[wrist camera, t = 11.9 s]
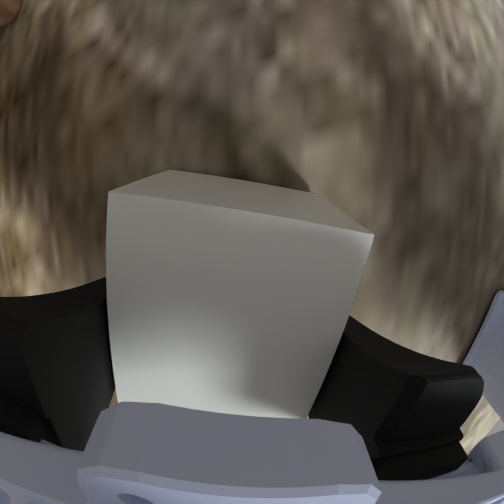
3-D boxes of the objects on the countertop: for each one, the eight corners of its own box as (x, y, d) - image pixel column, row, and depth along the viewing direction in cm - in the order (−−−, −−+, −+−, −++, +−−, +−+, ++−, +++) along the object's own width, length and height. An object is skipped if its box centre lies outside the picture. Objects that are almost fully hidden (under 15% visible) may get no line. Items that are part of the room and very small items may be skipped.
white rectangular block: (315, 193, 12) (374, 234, 6) (271, 368, 15) (283, 463, 9) (169, 169, 11) (108, 191, 6) (156, 352, 14) (126, 443, 9)
